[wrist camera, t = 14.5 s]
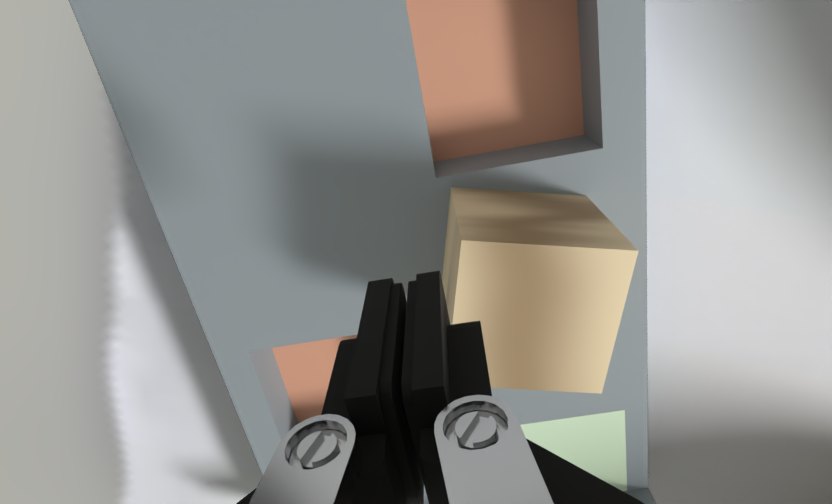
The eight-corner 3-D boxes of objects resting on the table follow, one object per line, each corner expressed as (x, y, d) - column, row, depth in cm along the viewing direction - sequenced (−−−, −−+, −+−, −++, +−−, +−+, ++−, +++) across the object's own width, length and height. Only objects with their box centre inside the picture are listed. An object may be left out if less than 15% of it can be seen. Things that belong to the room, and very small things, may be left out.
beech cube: (586, 195, 19) (638, 250, 15) (562, 313, 21) (601, 393, 17) (450, 187, 19) (461, 240, 15) (439, 306, 21) (445, 385, 17)
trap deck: (612, -224, 16) (676, -304, 12) (629, 463, 28) (666, 539, 24) (71, -100, 18) (-32, -135, 14) (301, 506, 29) (283, 586, 25)
